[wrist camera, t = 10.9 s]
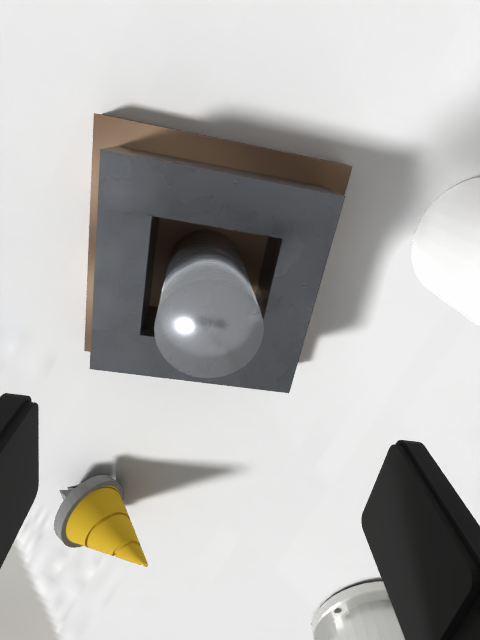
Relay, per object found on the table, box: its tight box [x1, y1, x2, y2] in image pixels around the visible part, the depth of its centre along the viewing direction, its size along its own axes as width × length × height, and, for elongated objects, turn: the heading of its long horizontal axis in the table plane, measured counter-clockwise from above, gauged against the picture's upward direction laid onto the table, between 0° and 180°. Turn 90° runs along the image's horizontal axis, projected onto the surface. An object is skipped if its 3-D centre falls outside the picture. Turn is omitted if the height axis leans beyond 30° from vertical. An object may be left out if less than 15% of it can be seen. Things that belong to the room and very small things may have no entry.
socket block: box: [90, 146, 345, 393], centre depth 23 cm, size 11×11×4 cm
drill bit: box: [54, 475, 148, 567], centre depth 31 cm, size 5×5×10 cm
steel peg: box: [154, 230, 264, 378], centre depth 21 cm, size 4×4×9 cm
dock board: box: [84, 113, 352, 352], centre depth 26 cm, size 14×14×2 cm
